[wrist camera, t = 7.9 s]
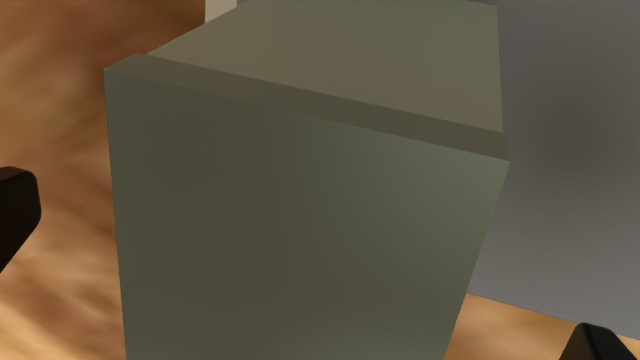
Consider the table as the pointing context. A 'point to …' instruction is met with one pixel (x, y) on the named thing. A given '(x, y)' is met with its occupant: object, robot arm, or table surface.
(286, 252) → the tea tin
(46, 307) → the table surface
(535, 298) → the display board
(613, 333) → the robot arm
